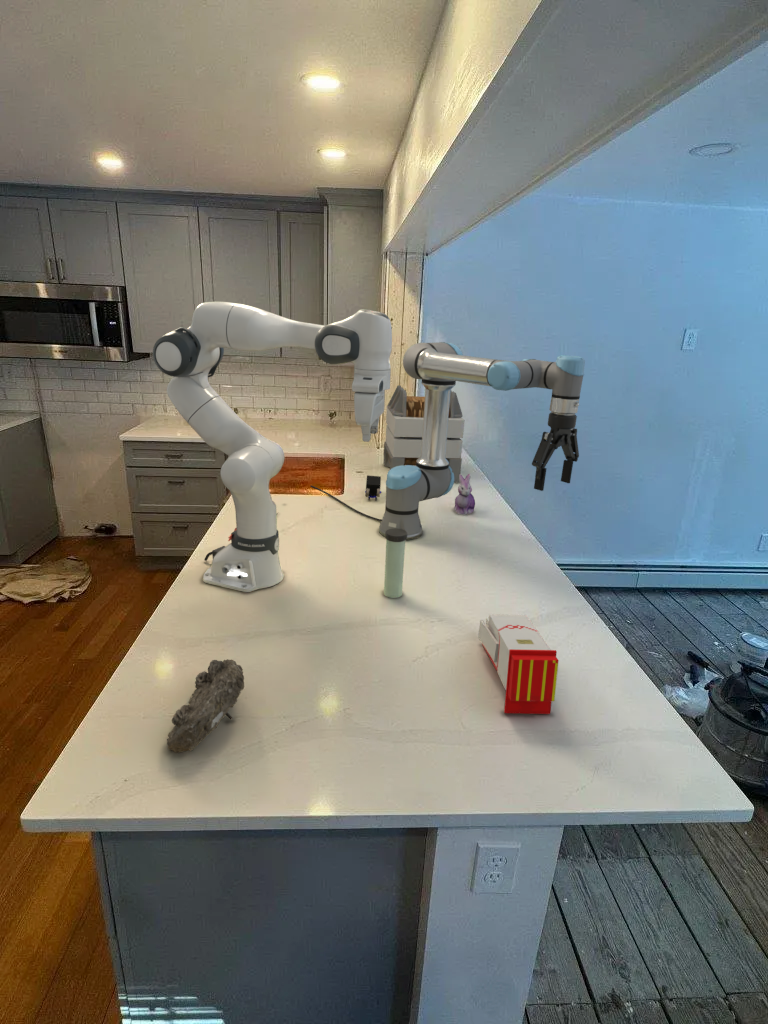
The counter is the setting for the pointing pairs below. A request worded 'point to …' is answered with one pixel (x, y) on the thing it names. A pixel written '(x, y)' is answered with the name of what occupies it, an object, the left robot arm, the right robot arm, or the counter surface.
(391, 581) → the pale green bottle
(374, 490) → the figurine character
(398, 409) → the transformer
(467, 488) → the figurine
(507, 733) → the counter surface
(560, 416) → the right robot arm
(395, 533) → the lid
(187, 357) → the left robot arm
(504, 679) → the toy
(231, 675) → the fossil
